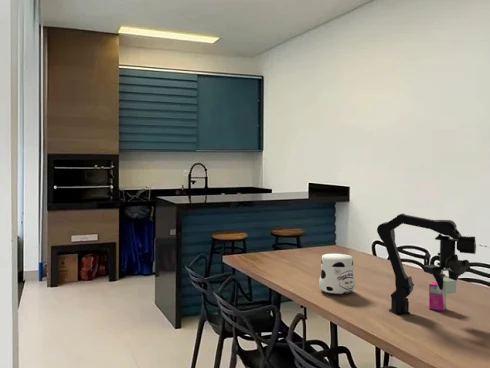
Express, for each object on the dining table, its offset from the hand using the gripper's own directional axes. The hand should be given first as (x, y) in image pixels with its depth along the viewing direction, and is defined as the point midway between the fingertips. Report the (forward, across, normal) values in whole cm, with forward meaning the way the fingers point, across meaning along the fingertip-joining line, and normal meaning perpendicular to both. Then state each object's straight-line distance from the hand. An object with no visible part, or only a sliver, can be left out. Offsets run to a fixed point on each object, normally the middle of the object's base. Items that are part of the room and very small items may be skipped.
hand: (446, 289), depth 188 cm
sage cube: (+1, 0, 0) cm, 1 cm away
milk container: (+13, -23, +49) cm, 56 cm away
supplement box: (+13, +7, +13) cm, 20 cm away
